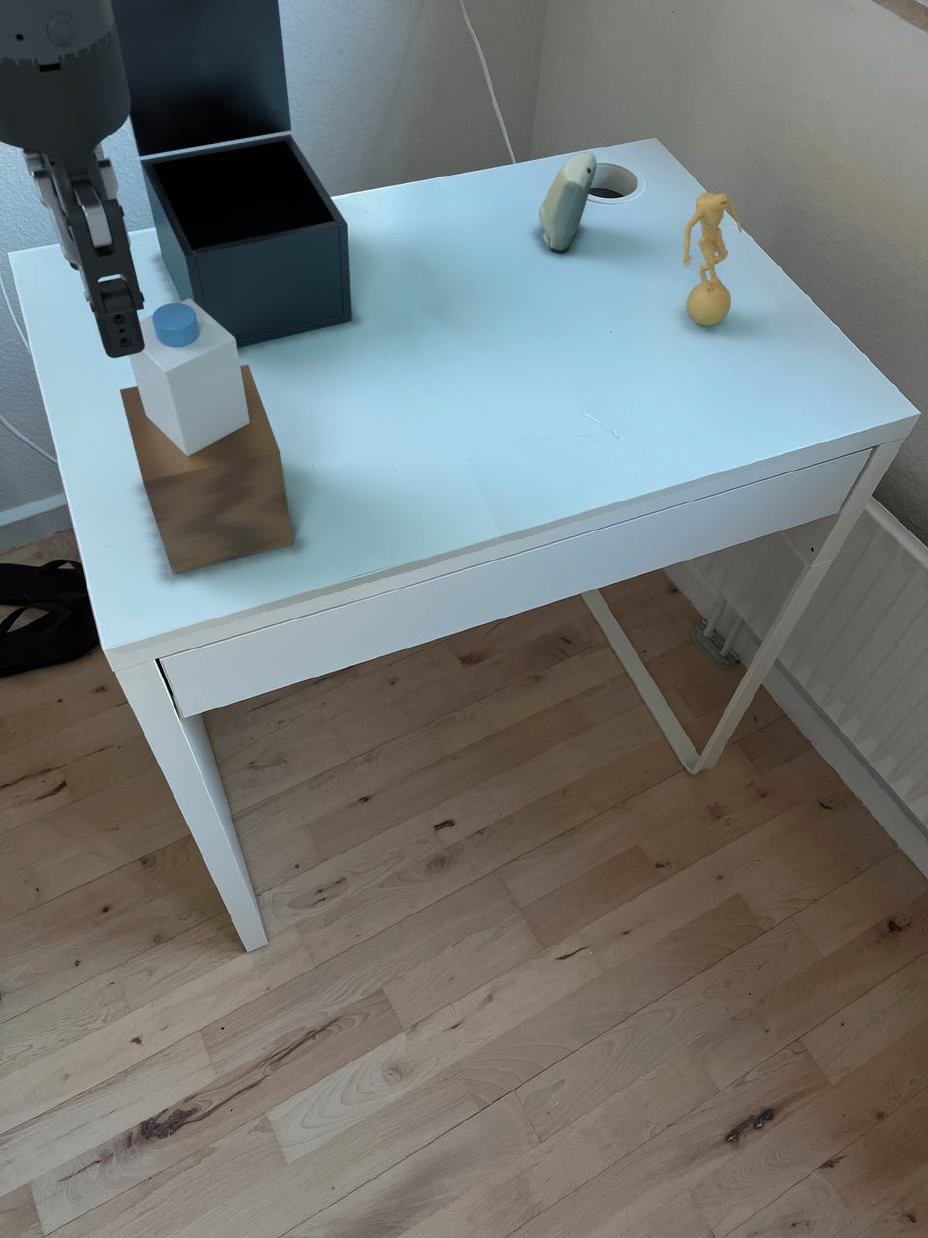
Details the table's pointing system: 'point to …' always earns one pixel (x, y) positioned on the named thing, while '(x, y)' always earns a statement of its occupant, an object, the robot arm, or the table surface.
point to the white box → (190, 376)
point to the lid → (202, 71)
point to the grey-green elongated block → (567, 201)
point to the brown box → (213, 487)
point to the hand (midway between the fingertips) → (106, 306)
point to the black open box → (252, 238)
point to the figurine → (709, 260)
